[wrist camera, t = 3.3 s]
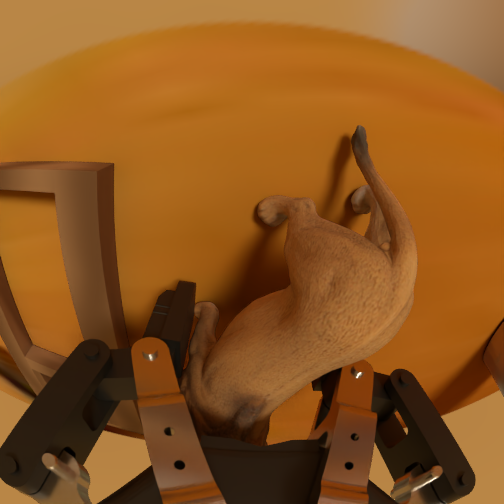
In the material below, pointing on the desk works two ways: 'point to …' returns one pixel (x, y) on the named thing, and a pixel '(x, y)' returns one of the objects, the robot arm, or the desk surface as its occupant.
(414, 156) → the desk surface
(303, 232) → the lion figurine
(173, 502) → the robot arm
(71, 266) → the board
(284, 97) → the desk surface
